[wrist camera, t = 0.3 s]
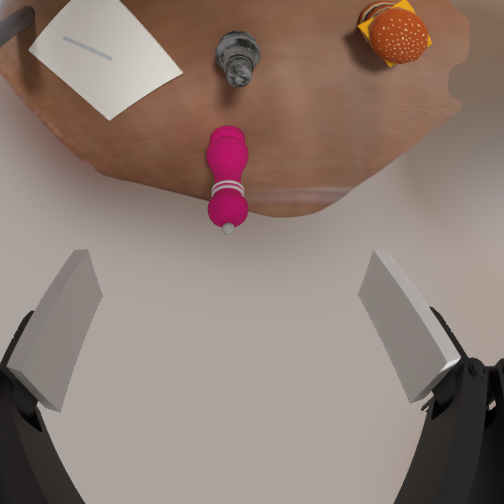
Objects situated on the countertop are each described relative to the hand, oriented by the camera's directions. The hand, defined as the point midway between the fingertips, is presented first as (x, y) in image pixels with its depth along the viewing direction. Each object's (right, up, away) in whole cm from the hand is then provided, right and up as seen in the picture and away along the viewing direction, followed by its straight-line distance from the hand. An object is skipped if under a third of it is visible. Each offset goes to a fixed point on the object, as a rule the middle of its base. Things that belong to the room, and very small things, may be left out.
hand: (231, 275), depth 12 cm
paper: (-21, +30, +15) cm, 39 cm away
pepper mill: (-4, +22, +35) cm, 41 cm away
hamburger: (+20, +34, +13) cm, 41 cm away
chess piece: (-1, +30, +18) cm, 35 cm away
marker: (-31, +34, +3) cm, 47 cm away
